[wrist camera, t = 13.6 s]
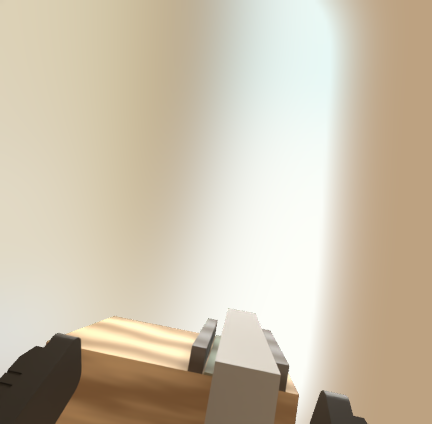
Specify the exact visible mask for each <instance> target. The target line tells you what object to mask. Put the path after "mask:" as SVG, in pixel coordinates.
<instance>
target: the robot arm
mask: <svg viewBox="0 0 432 424" xmlns="http://www.w3.org/2000/svg"><path fill="white" fill-rule="evenodd" d="M81 372H82V363H81V339H80V338H79V337H75V336H70V335H65V334H61V333H57V334H55V335H54V336H53V337H52V338H51V340H50V341H49V342H48V343H47V344H46V346H45V347H44V348H43V347H39V346H36V347H34V348H32V349H31V350H29V351H28V352H26V353H24V354H23V355H21V356H20V357H19V358H18V359H17V360H16V361H15V363H14V364H13V365H12V366H11V367H10V368H9V369H8V371H7V373H5V374H4V375H3V376H2V377H1V378H0V424H55V423H56V422H57V420H58V418H59V417H60V415H61V413H62V412H63V410H64V409H65V407H66V405H67V404H68V402H69V400H70V399H71V397H72V396H73V394H74V392H75V391H76V389H77V386H78V384H79V381H80V377H81ZM310 424H367V422H366V421H365V419H364V418H360V417H356V416H353V413H352V410H351V406H350V402H349V399H348V397H347V396H346V395H342V394H338V393H333V392H328V391H324V390H323V391H321V393H320V395H319V398H318V401H317V404H316V407H315V409H314V412H313V415H312V418H311V421H310Z"/></svg>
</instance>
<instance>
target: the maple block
mask: <svg viewBox="0 0 432 424" xmlns="http://www.w3.org/2000/svg"><path fill="white" fill-rule="evenodd" d="M216 326H217V320H214V319H209V318H208V320H207V321H206V323H205V325H204V327H203V328H202V330H201V331H200V333H195V332H190V331H185V330H181V329H175V328H170V327H165V326H161V325H156V324H151V323H146V322H141V321H135V320H131V319H126V318H121V317H116V316H113V317H110V318H108V319H105V320H102V321H100V322H97V323H94V324H92V325H89V326H87V327H84V328H81V329H79V330H76V331H73V332H70V333H68V334H65V335H70V336H75V337H79V338H80V339H81V363H82V372H81V377H80V381H79V384H78V386H77V389H76V391H75V392H74V394H73V396H72V397H71V399H70V400H69V402H68V404H67V405H66V407H65V409H64V410H63V412H62V413H61V415H60V417H59V418H58V420H57V422H56V423H55V424H204V423H205V417H206V411H207V405H208V399H209V394H210V388H211V382H212V376H213V370H214V365H215V360H216V355H217V351H218V347H219V343H220V339H221V336H218V335H216V337H215V332H216ZM262 331H263V333H264V335H265V338H266V340H267V343H268V345H269V348H270V350H271V352H272V355H273V357H274V360H275V362H276V364H277V367H278V369H279V372H280V374H281V377H280V384H279V391H278V398H277V405H276V412H275V419H274V424H295V421H296V413H297V406H298V398H299V394H298V392H297V390H296V388H295V386H294V384H293V382H292V380H291V378H290V376H289V374H288V371H289V364H288V363H287V360H286V359H285V357H284V355H283V353H282V351H281V349H280V348H279V346H278V344H277V342H276V341H275V338H274V337H273V335H272V333H271V331H269V330H264V329H262ZM49 341H50V340H49ZM49 341H47V343H48V342H49ZM47 343H46V344H47Z"/></svg>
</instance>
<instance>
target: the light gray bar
mask: <svg viewBox="0 0 432 424" xmlns="http://www.w3.org/2000/svg"><path fill="white" fill-rule="evenodd" d="M280 377H281V374H280V372H279V369H278V367H277V364H276V362H275V360H274V357H273V355H272V352H271V350H270V348H269V345H268V343H267V340H266V338H265V335H264V333H263V331H262V328H261V326H260V323H259V321H258V319H257V316H256V314H255V313H250V312H245V311H240V310H235V309H230V308H228V311H227V315H226V319H225V323H224V327H223V331H222V335H221V339H220V343H219V347H218V351H217V355H216V360H215V365H214V370H213V376H212V382H211V388H210V394H209V399H208V405H207V411H206V417H205V423H204V424H274V419H275V412H276V405H277V398H278V391H279V384H280Z"/></svg>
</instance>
